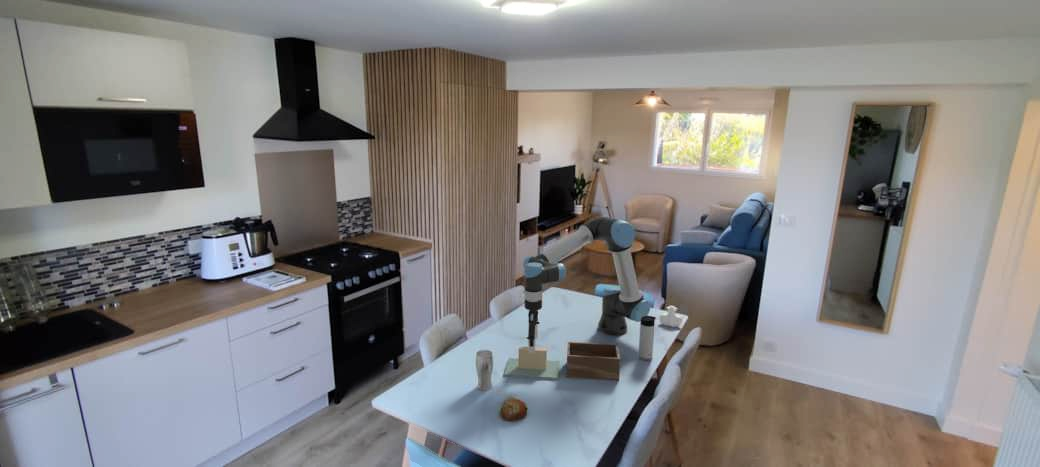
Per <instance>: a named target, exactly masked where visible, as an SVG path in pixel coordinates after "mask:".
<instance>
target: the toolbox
mask: <svg viewBox="0 0 1040 467" xmlns="http://www.w3.org/2000/svg"><path fill="white" fill-rule="evenodd" d="M566 350H567V351H566V353H567V354H566V378H568V379H581V380H585V379H586V380H595V381H596V380H600V381H612V382H613V381H616V382H619V381H620V371H621V370H620V369H621V356H620V351H619V344H617V343H616V344H615V343H602V342H601V343H597V342H583V341H581V342H579V341H567V349H566Z"/></svg>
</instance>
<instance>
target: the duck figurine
mask: <svg viewBox="0 0 1040 467" xmlns="http://www.w3.org/2000/svg"><path fill="white" fill-rule="evenodd" d="M666 309H667V312H668V313H666V312H665V313H662V314H660V315H659V318H658V319H659V322H660V324H662V325H664V326H665V327H672V328H675V327H676V328H677V327H678V328H679V327H681V325H682V323H683V317H681V316H680V315H678V314H675V313H676V312H677V310H678V308H677V307H676V306H675V305H669V306H666Z"/></svg>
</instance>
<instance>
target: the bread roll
mask: <svg viewBox="0 0 1040 467" xmlns="http://www.w3.org/2000/svg"><path fill="white" fill-rule="evenodd" d="M528 409H529V408H528V406H527V404H526V402H525V401H523V400H521V399H519V398H518V399H517V398H515V397H512V396H511V397H508V398H505V400H504V401H502V403H501V405H500V411H499V414H500V417H501V419H503V420H504V422H505V421H506V422H511V423H512V422H518V421H522V420H523V419H525V418H526V416H527V414H528Z"/></svg>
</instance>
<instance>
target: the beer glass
mask: <svg viewBox="0 0 1040 467" xmlns="http://www.w3.org/2000/svg"><path fill="white" fill-rule="evenodd" d="M493 355H494V353H493V351H491V350H489V349H480V350H478V351H477V352H475V370H476V373H477V381H478V382H477V390H479V391H481V392H488V391H490V390H492V388H493V382H492V376H493V375H492V374H493V369H494V368H493V367H494V356H493Z"/></svg>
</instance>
